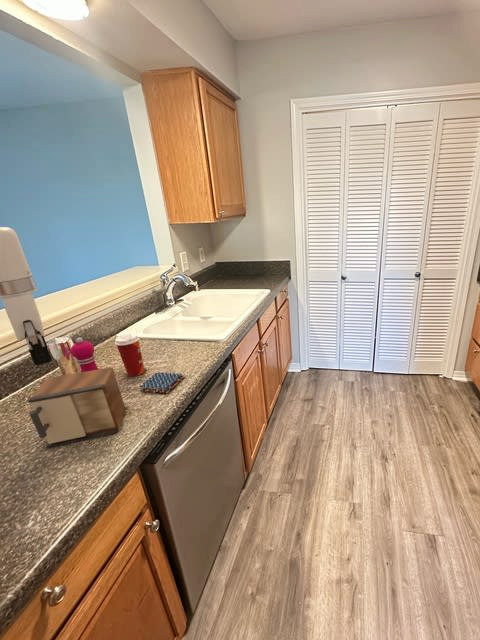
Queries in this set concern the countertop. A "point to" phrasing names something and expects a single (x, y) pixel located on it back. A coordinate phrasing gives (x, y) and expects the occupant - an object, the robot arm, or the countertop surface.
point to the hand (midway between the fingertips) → (42, 356)
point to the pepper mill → (84, 355)
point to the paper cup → (130, 353)
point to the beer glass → (64, 355)
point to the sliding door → (57, 419)
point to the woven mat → (161, 382)
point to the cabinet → (88, 400)
